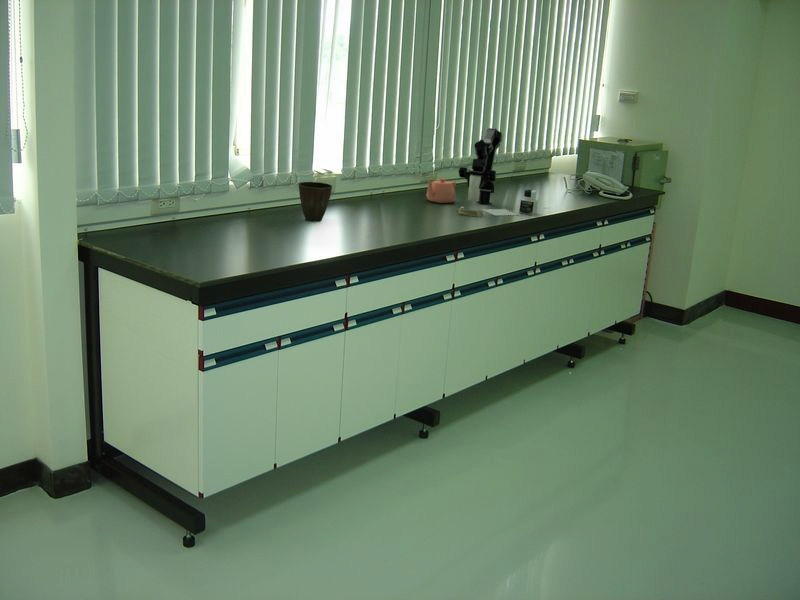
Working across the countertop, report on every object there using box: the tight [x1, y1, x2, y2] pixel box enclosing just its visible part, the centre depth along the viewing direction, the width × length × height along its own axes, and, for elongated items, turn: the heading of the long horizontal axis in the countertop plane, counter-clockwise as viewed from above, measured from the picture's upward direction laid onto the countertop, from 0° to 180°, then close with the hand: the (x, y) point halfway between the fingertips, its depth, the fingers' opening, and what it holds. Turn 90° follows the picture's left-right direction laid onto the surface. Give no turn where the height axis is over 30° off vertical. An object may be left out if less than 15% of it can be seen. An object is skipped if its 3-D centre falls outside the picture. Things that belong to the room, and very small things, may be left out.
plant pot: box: [298, 181, 333, 222], centre depth 380 cm, size 15×15×16 cm
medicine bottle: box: [518, 189, 539, 216], centre depth 436 cm, size 7×7×12 cm
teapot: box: [426, 177, 457, 204], centre depth 449 cm, size 22×15×12 cm
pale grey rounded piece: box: [467, 175, 481, 202], centre depth 422 cm, size 8×5×12 cm
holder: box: [457, 206, 484, 217], centre depth 423 cm, size 8×11×2 cm
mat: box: [482, 208, 519, 217], centre depth 432 cm, size 14×14×1 cm
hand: (473, 187), depth 422 cm, fingers closed on pale grey rounded piece, 5 cm apart
